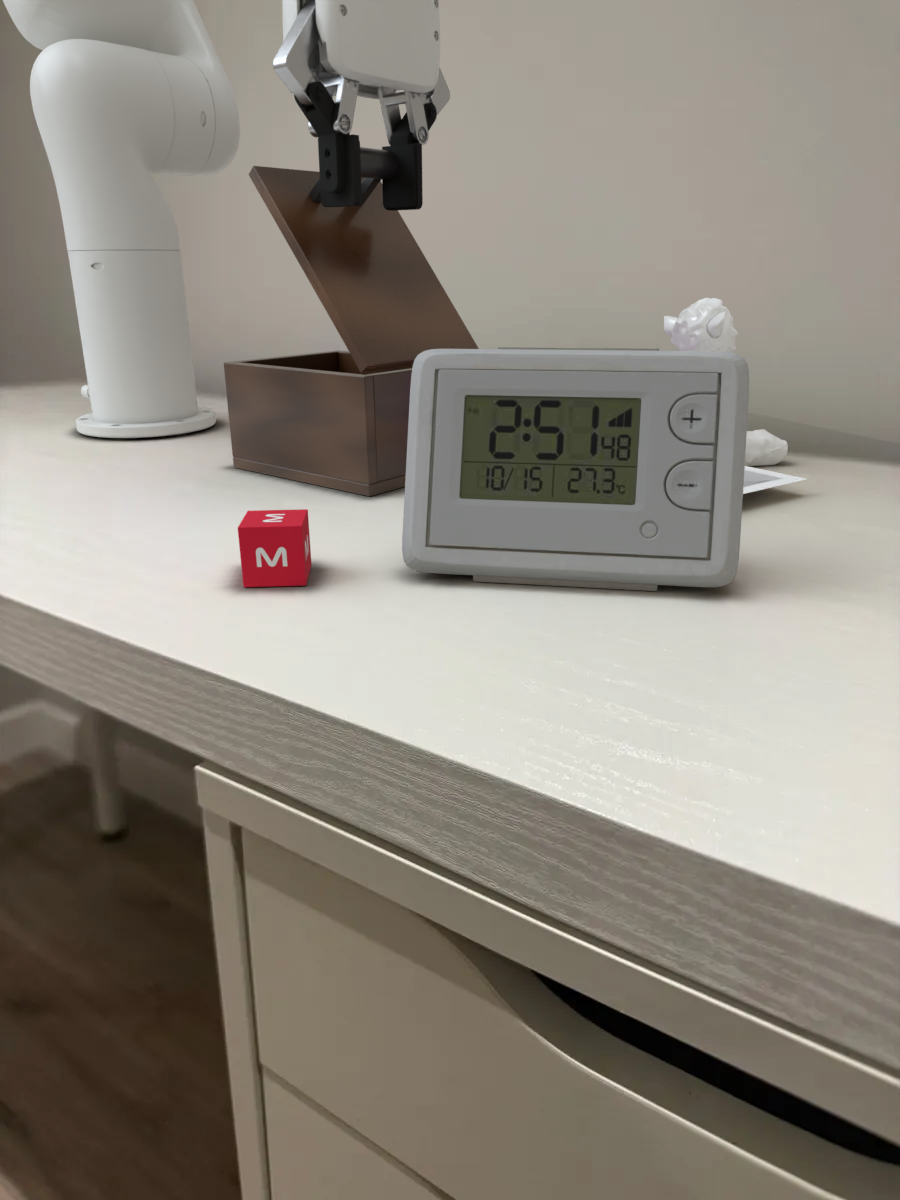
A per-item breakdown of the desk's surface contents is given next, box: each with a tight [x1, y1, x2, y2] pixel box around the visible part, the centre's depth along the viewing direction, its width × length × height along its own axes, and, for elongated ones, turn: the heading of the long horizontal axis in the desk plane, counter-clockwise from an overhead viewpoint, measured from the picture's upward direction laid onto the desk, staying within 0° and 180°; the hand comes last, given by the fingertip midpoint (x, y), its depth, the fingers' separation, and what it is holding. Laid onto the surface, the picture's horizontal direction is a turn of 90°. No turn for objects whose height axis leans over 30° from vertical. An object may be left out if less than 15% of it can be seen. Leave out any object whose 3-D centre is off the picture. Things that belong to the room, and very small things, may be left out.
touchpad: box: [743, 466, 809, 495], centre depth 57 cm, size 8×15×2 cm, turn 125°
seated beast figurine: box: [663, 297, 789, 467], centre depth 66 cm, size 10×9×12 cm
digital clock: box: [401, 347, 750, 592], centre depth 42 cm, size 16×9×11 cm, turn 69°
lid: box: [248, 146, 480, 372], centre depth 59 cm, size 15×12×5 cm
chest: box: [223, 349, 413, 497], centre depth 66 cm, size 15×12×8 cm
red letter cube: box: [237, 508, 313, 588], centre depth 43 cm, size 3×3×3 cm
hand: (372, 204), depth 59 cm, fingers closed on lid, 5 cm apart
